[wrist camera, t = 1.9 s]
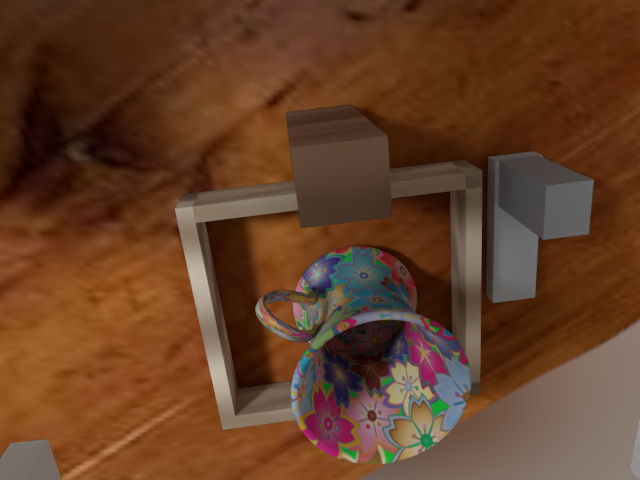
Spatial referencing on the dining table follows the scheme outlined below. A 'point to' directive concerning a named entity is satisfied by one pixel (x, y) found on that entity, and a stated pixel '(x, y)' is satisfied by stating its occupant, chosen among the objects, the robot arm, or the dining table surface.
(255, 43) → the dining table surface
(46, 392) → the dining table surface
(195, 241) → the open square frame
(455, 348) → the mug
